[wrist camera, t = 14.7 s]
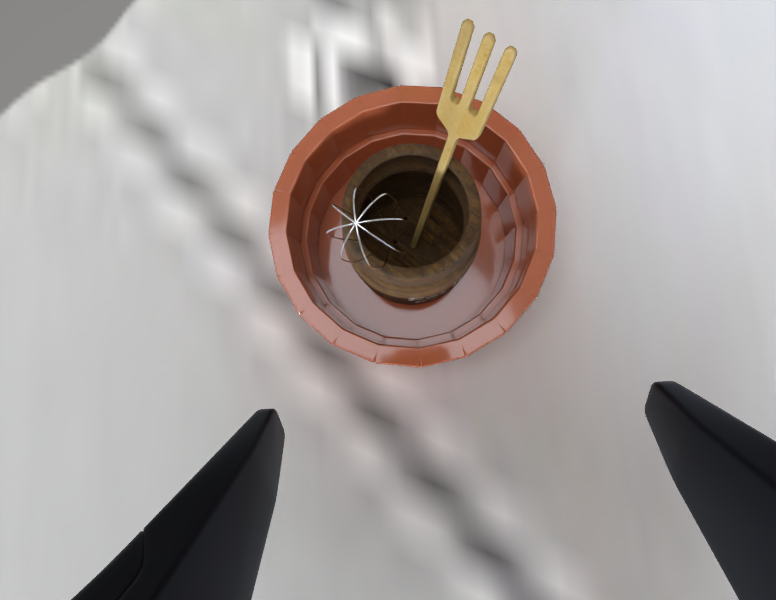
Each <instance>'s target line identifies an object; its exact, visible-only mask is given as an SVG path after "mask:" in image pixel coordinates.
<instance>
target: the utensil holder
mask: <svg viewBox="0 0 776 600" xmlns="http://www.w3.org/2000/svg"><path fill="white" fill-rule="evenodd" d="M473 30H474V24H473V21H472V20H470V19H466V20H464V21H463V22H462V25H461V29H460V32H459V35H458V39H457V42H456V46H455V49H454V52H453V56H452V59H451V63H450V66H449V69H448V73H447V76H446V80H445V83H444V86H443V90H442V93H441V97H440V100H439V103H438V107H437V111H436V112H437V116H438V118H439V119H440V120H441V122H442V123H443V125H444V126H445V128H446V129H447V131H448V137H447V140H446V143H445V146H444V149H443V150H441V149H439V148H436V147H433V146H429V145H425V144H416V143H408V144H400V145H395V146H391V147H388V148H386V149H383V150H381V151H379V152H377V153H376V154H374V155H372V156H371V157H370V158H368V159H367V160H366V161H365V162H364V163H363V164H362V165H361V166H360V167H359V168H358V169H357V170H356V171H355V173H354V174H353V176H352V177H351V179H350V181H349V183H348V185H347V187H346V190H345V193H344V196H343V201H342V208H340V207H338V206H336V205H334V204H332V206H333V207H334V208H335V209H336V210H337V211H339V212H340V213H341V222H342V226H338V227H335V228H332V229H330V230H328V231H327V232H326V235H327V236H330V237H333V238H336V239H340V240H343V246H342V249H341V260H342V261H344V262H348V263H351V265H352V267H353V269H354V270H355V272H356V273H357V274H358V276H359V277H360V278H361V279H362V280H363V281H364V283H365V284H366V285H367V286H368V287H369V288H370V289H371V290H373V291H374V292H375V293H377V294H378V295H380V296H381V297H383V298H385V299H387V300H389V301H392V302H395V303H400V304H406V305H417V304H423V303H427V302H431V301H433V300H436V299H438V298H440V297H441V296H443V295H445V294H446V293H447V292H449V291H450V290H451V289H452V288H453V287H454V286H455V285H456V284H457V283H458V282H459V281H460V280H461V279H462V278H463V276H464V275H465V274H466V272H467V271H468V270H469V268H470V266H471V265H472V263H473V261H474V259H475V256H476V254H477V251H478V248H479V244H480V238H481V218H482V212H481V201H480V196H479V192H478V189H477V186H476V184H475V182H474V180H473V178H472V176H471V175H470V173H469V172H468V170H467V169H466V168H465V167H464V166H463V165H462V164H461V162H459V161H458V160H457V159H456V158H455V157H453V156H452V155H453V152H454V150H455V147H456V145H457V142H458V139H459V138H462V139H469V140H475V139H477V138H478V137H479V136H480V135H481V134H482V132H483V129H484V127H485V125H486V123H487V121H488V118H489V116H490V114H491V112H492V109H493V107H494V105H495V103H496V101H497V98H498V96H499V94H500V92H501V89H502V87H503V85H504V83H505V80H506V78H507V76H508V74H509V72H510V69H511V67H512V65H513V63H514V60H515V58H516V56H517V51H516V48H514V47H513V46H509V47H507V48H506V49H505V51H504V53H503V55H502V58H501V60H500V62H499V65H498V67H497V69H496V72H495V74H494V76H493V79H492V81H491V83H490V86H489V88H488V90H487V93H486V95H485V97H484V100H483V102H482V104H481V107H480V109H479V111H477V110H476V109H474V108H473V105H472V103H473V100H474V97H475V95H476V92H477V89H478V87H479V84H480V81H481V79H482V76H483V73H484V71H485V68H486V65H487V63H488V60H489V57H490V55H491V52H492V49H493V46H494V44H495V41H496V40H495V36H494V34H492V33H491V32H488V33H486V34H485V35H484V36H483V39H482V41H481V44H480V47H479V50H478V53H477V55H476V58H475V61H474V64H473V67H472V69H471V72H470V75H469V78H468V81H467V83H466V86H465V89H464V92H463V94H462V97H461V99H459V98H458V97H456V95H455V89H456V86H457V83H458V79H459V76H460V73H461V70H462V66H463V63H464V60H465V56H466V53H467V50H468V47H469V43H470V40H471V37H472V33H473ZM336 207H337V208H336ZM338 208H339V209H341V211H340V210H339V209H338ZM341 227H342V237H343V239H342V238H337V237H334V236H331V235H329V234H328V232H330V231H332V230H335V229H338V228H341ZM343 248H345V251H346V254H347V257H348V259H349V261H346V260H344V259H343V258H342V252H343Z"/></svg>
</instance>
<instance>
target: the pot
mask: <svg viewBox="0 0 776 600" xmlns="http://www.w3.org/2000/svg"><path fill="white" fill-rule="evenodd" d="M442 90H443V88H442V87H424V86H402V85H400V86H396V87H392V88H388V89H384V90H380V91H376V92H373V93H369V94H365V95H361V96H358V98H357V97H355V98H354V99H352V100H350V101H349V102H347V103H346V104H344V105H342V106H341V107H339V108H337V109H336V110H334V111H332V112H331V113H329V114H328V115H326V116H324V117H323V118H321V120H319V121H318V122H317V123H316V124H315V125H314V127H313V128H312V129H311V130H310V131H309V132H308V133H307V134H306V136H305V137H304V138H303V139H302V140H301V141H300V142H299V144H298V145H297V146H296V147H295V148H294V149H293V150H292V153H291V154H290V156H289V158H288V160H287V163H286V165H285V167H284V169H283V171H282V174H281V176H280V178H279V180H278V183H277V185H276V187H275V190H274V192H273V199H272V208H271V217H270V225H269V239H270V244H271V249H272V254H273V259H274V264H275V269H276V274H277V276H278V279H279V281H280V282H281V284H282V286H283V288H284V289H285V291H286V293H287V295H288V296H289V298H290V300H291V302H292V303H293V305H294V307H295V309H296V310H297V312H298V314H300V316H301V317H302V318H303V319H304V320H305V321H306V322H308V323H309V324H310V325H311V326H312V327H313V328H314V329H315V330H316V331H318V332H319V333H320V334H321V335H322V336H323V337H324V338H325V339H327V340H328V341H329V342H330V343H331V344H334V346H336V347H339V348H341V349H343V350H345V351H348V352H350V353H352V354H355V355H357V356H359V357H362V358H364V359H366V360H368V361H371V362H375V363H378V364H389V365H399V366H410V367H420V366H421V367H425V366H430V365H434V364H438V363H443V362H447V361H452V360H456V359H460V358H465V357H466V356H469V355H471V354H472V353H474V352H476V351H477V350H479V349H481V348H482V347H484V346H486V345H487V344H489V343H491V342H492V341H494V340H496V339H497V338H499V337H501V336H502V335H504V334H505V333H506V332H508V331H509V329H510V328H511V327H512V326H513V325H514V324H515V322H516V321H517V320H518V319H519V318H520V317H521V315H522V314H523V313H524V312H525V311H526V310H527V308H528V307H529V306H530V305H531V304H532V303H533V301H534V300H535V299H536V297H537V296H538V294H539V291H540V289H541V286H542V284H543V281H544V279H545V277H546V274H547V272H548V269H549V267H550V264H551V262H552V259H553V257H554V255H553V254H554V245H555V227H556V206H555V202H554V199H553V195H552V191H551V188H550V184H549V181H548V177H547V174H546V170H545V167H544V165H543V163H542V162H541V161H540V159H539V158H538V156H537V155H536V153H535V152H534V150H533V149H532V147H531V146H530V144H529V143H528V141H527V140H526V138H525V137H524V135H523V134H522V133H521V131H520V130H519V129H518V128H517V127H516V126H514V125H513V124H512V123H511V122H509V121H508V120H507V119H505V118H504V117H503V116H501V115H500V114H499V113H498V112H496V111H495V110H494V109H492V112H491V114H490V116H489V118H488V121H487V123H486V125H485V127H484V129H483V132H482V134H481V135H480V136H479V137H478V138H477V139H475V140H469V139H462V138H459V139H458V142H457V145H456V147H455V150H454V152H453V155H452V156H453V157H455V158H456V159H457V160H458V161H459V162H461V164H462V165H463V166H464V167H465V168H466V169H467V170H468V172H469V173H470V175H471V176H472V178H473V180H474V182H475V184H476V186H477V189H478V192H479V196H480V201H481V212H482V218H481V238H480V244H479V248H478V251H477V254H476V256H475V259H474V261H473V263H472V265H471V266H470V268H469V270H468V271H467V272H466V274H465V275H464V276H463V278H462V279H461V280H460V281H459V282H458V283H457V284H456V285H455V286H454V287H453V288H452V289H451V290H450V291H449V292H447V293H446V294H445V295H443V296H441V297H440V298H438V299H436V300H433V301H431V302H427V303H423V304H417V305H406V304H400V303H395V302H392V301H389V300H387V299H385V298H383V297H381V296H380V295H378V294H377V293H375V292H374V291H373V290H371V289H370V288H369V287H368V286H367V285H366V284H365V283H364V281H363V280H362V279H361V278H360V277H359V276H358V274H357V273H356V272H355V270H354V269H353V267H352V265H351V263H348V262H344V261H342V260H341V249H342V246H343V240H340V239H336V238H333V237H330V236H327V235H326V232H327V231H328V230H330V229H332V228H335V227H338V226H342V222H341V213H340V212H339V211H337V210H336V209H335V208H334V207H333V206H332V204H334V205H336V206H338V207H340V208H342V201H343V196H344V193H345V190H346V187H347V185H348V183H349V181H350V179H351V177H352V176H353V174H354V173H355V171H356V170H357V169H358V168H359V167H360V166H361V165H362V164H363V163H364V162H365V161H366V160H367V159H368V158H370V157H371V156H372V155H374V154H376V153H377V152H379V151H381V150H383V149H386V148H388V147H391V146H395V145H400V144H408V143H416V144H425V145H429V146H433V147H436V148H439V149H441V150H443V149H444V146H445V143H446V140H447V137H448V131H447V129H446V128H445V126H444V125H443V123H442V122H441V120H440V119H439V118H438V116H437V112H436V111H437V107H438V103H439V100H440V97H441V93H442ZM455 95H456V97H458V98H459V99H461V97H462V94H459V93H457V92H455ZM481 104H482V101H479V100H476V99H474V100H473V103H472V105H473V108H474V109H476V110H477V111H479V109H480V107H481ZM336 208H337V207H336ZM338 209H339V208H338ZM339 210H340V211H341V209H339ZM328 234H329V235H331V236H334V237H337V238H342V239H343V237H342V227H341V228H338V229H335V230H332V231H330V232H328ZM342 258H343V259H344V260H346V261H349V259H348V257H347V254H346V251H345V248H343V252H342Z"/></svg>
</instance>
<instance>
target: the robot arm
mask: <svg viewBox="0 0 776 600" xmlns="http://www.w3.org/2000/svg"><path fill="white" fill-rule="evenodd" d="M645 414H646V417H647V420H648V422H649V425H650V427H651V429H652V432H653V434H654V436H655V439H656V441H657V444H658V446H659V448H660V451H661V453H662V455H663V458H664V460H665V463H666V465H667V467H668V470H669V472H670V474H671V476H672V478H673V480H674V482H675V484H676V486H677V488H678V490H679V492H680V494H681V495H682V497H683V499H684V501H685V503H686V504H687V506H688V508H689V510H690V512H691V513H692V515H693V517H694V519H695V521H696V523H697V524H698V526H699V528H700V530H701V532H702V533H703V535H704V537H705V539H706V541H707V542H708V544H709V546H710V548H711V550H712V552H713V553H714V555H715V557H716V559H717V561H718V562H719V564H720V566H721V568H722V570H723V571H724V573H725V575H726V577H727V579H728V580H729V582H730V584H731V586H732V588H733V590H734V591H735V593H736V595H737V597H738V599H739V600H776V441H774V440H772V439H771V438H769V437H767V436H766V435H764V434H762V433H761V432H759V431H757V430H756V429H754V428H752V427H751V426H749V425H747V424H745V423H744V422H742V421H740V420H739V419H737V418H735V417H734V416H732V415H730V414H729V413H727V412H725V411H724V410H722V409H720V408H718V407H717V406H715V405H713V404H712V403H710V402H708V401H707V400H705V399H703V398H702V397H700V396H698V395H697V394H695V393H693V392H692V391H690V390H688V389H686V388H685V387H683V386H681V385H680V384H678V383H676V382H673V381H664V382H655V383H653V384H652V386H651V389H650V392H649V395H648V398H647V402H646V405H645ZM284 439H285V434H284V429H283V426H282V424H281V421H280V419H279V416H278V414H277V412H276V410H275V409H261V410H258V411H257V412H255V414H254V415H253V416H252V417H251V418H250V419H249V420H248V421H247V422H246V423H245V424H244V425H243V426H242V427H241V428H240V429H239V430H238V431H237V432H236V433H235V434H234V435H233V436H232V437H231V438H230V439H229V441H228V442H227V443H226V444H225V445H224V446H223V447H222V448H221V449H220V450H219V451H218V452H217V453H216V454H215V455H214V456H213V457H212V458H211V459H210V460H209V461H208V462H207V463H206V464H205V465H204V466H203V468H202V469H201V470H200V471H199V472H198V473H197V474H196V475H195V476H194V477H193V478H192V479H191V480H190V481H189V482H188V483H187V484H186V485H185V486H184V487H183V488H182V489H181V490H180V491H179V492H178V493H177V495H176V496H175V497H174V498H173V499H172V500H171V501H170V502H169V503H168V504H167V505H166V506H165V507H164V508H163V509H162V510H161V511H160V512H159V513H158V514H157V515H156V516H155V517H154V518H153V519H152V520H151V522H150V523H149V524H148V525H147V526H146V527H145V528H144V532H143V531H141V532H140V533H139V534H138V535H137V536H136V537H135V538H134V539H133V540H132V541H131V542H130V543H129V544H128V545H127V546H126V547H125V548H124V549H123V550H122V551H121V552H120V553H119V554H118V555H117V556H116V557H115V558H114V559H113V560H112V561H111V562H110V563H109V564H108V565H107V566H106V567H105V568H104V569H103V570H102V571H101V572H100V573H99V574H98V575H97V576H96V577H95V578H94V579H93V580H92V581H91V582H90V583H89V584H87V585H86V586H85V587H84V588H83V589H82V590H81V591H80V592H79V593H78V594H77V595H76V596H75V597H74V598H73V599H71V600H251V598H252V594H253V590H254V586H255V582H256V578H257V574H258V570H259V566H260V562H261V558H262V554H263V550H264V546H265V542H266V538H267V534H268V530H269V526H270V522H271V518H272V514H273V510H274V506H275V501H276V496H277V490H278V483H279V476H280V468H281V461H282V454H283V447H284Z"/></svg>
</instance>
